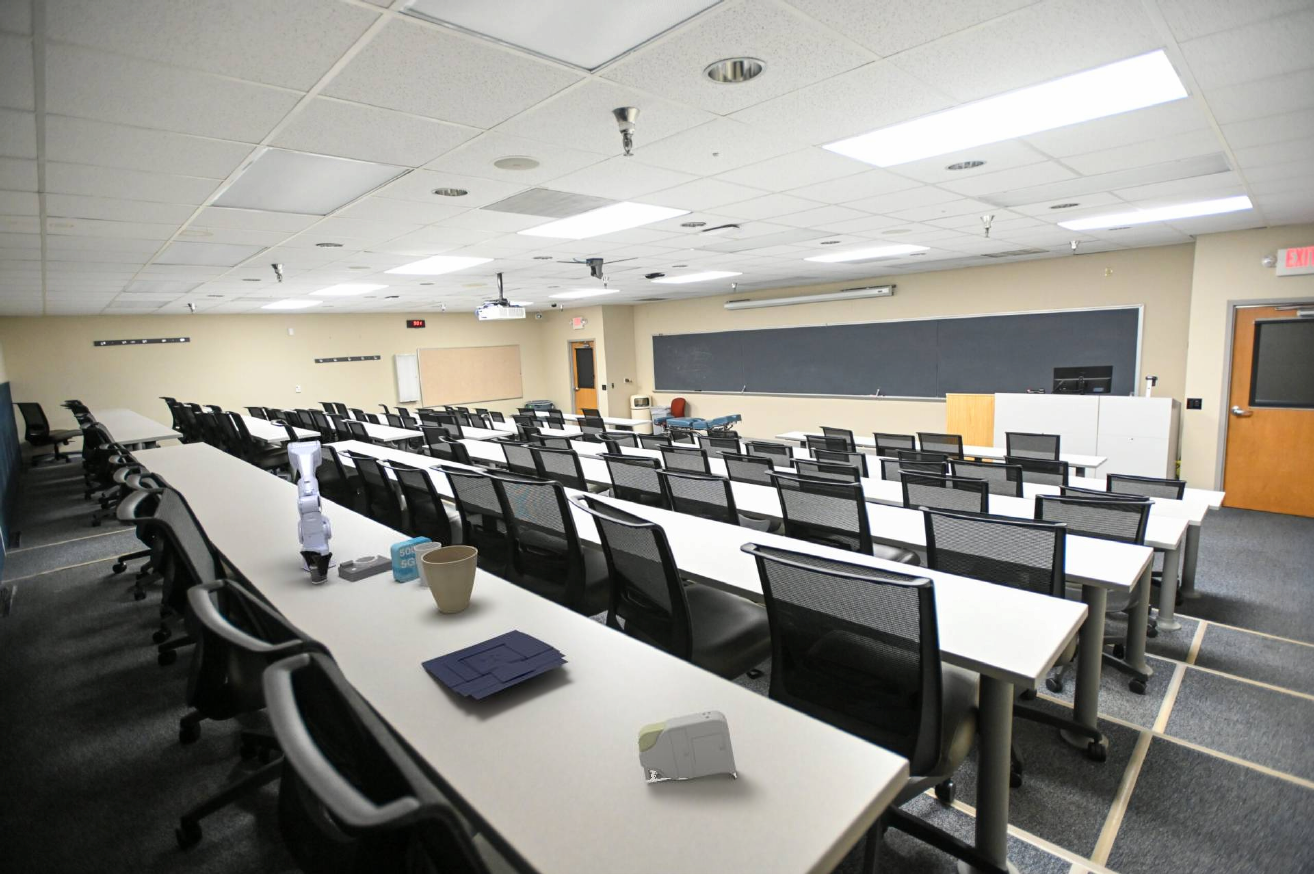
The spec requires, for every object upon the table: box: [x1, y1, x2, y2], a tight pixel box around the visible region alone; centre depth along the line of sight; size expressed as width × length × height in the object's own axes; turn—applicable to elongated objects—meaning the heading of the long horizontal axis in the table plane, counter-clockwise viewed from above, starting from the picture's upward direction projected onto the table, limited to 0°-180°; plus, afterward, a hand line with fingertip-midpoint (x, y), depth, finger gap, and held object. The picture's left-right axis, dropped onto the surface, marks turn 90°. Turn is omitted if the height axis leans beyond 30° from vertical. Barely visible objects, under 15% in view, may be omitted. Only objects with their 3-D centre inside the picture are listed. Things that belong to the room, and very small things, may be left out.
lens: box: [309, 563, 328, 586], centre depth 194 cm, size 4×4×6 cm
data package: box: [389, 536, 433, 583], centre depth 195 cm, size 12×4×12 cm, turn 140°
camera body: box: [337, 555, 393, 583], centre depth 201 cm, size 10×14×4 cm
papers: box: [421, 629, 569, 700], centre depth 134 cm, size 24×30×4 cm
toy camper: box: [637, 710, 737, 781], centre depth 97 cm, size 11×3×15 cm
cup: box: [414, 541, 442, 588], centre depth 189 cm, size 8×8×12 cm
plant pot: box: [421, 545, 478, 614], centre depth 168 cm, size 15×15×16 cm
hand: (318, 572), depth 194 cm, fingers open, 7 cm apart
